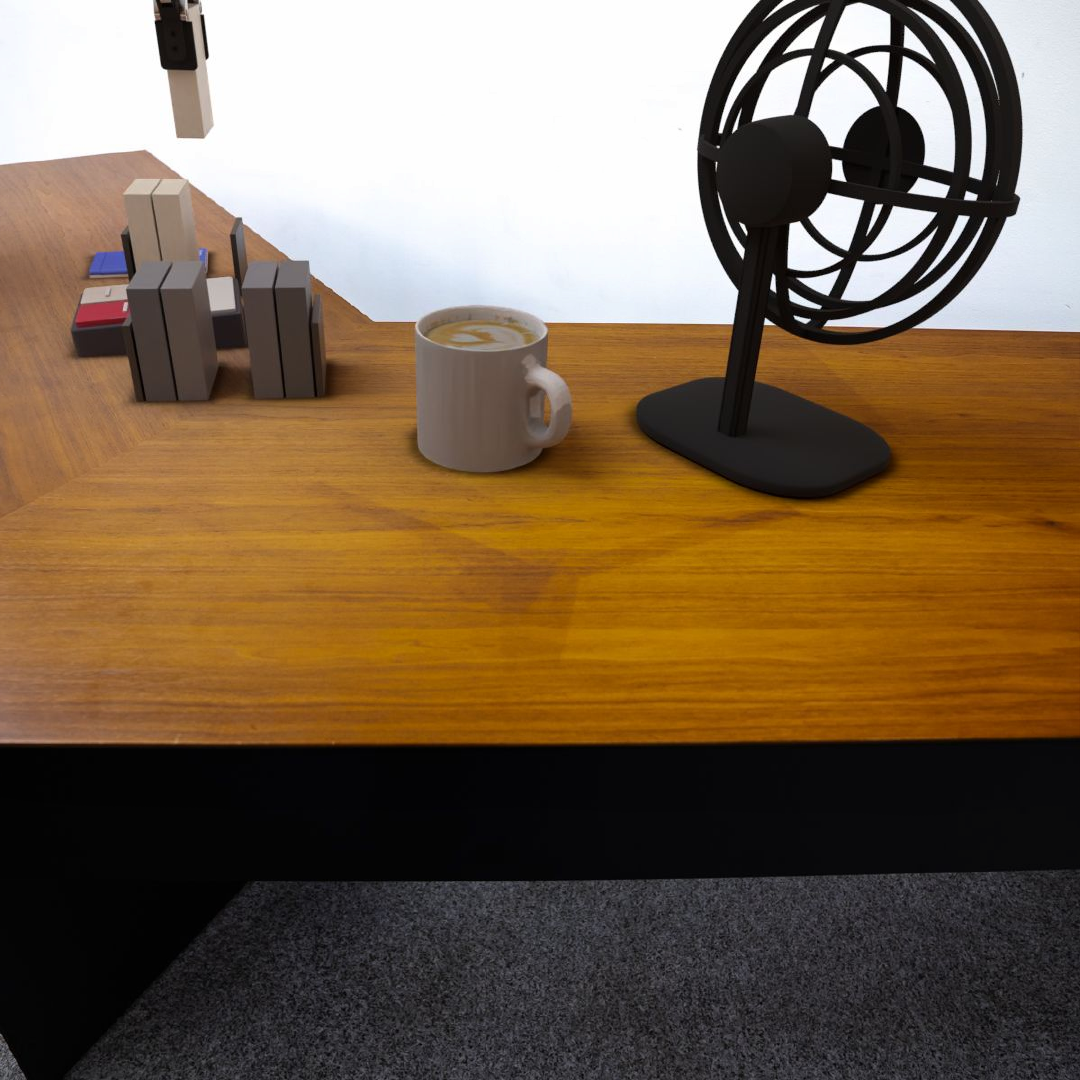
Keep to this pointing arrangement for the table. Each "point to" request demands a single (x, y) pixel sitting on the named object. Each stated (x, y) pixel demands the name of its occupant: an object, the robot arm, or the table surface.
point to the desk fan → (795, 194)
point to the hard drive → (122, 264)
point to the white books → (168, 226)
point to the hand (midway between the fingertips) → (186, 62)
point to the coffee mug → (486, 388)
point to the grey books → (188, 337)
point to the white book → (192, 89)
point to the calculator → (109, 309)
